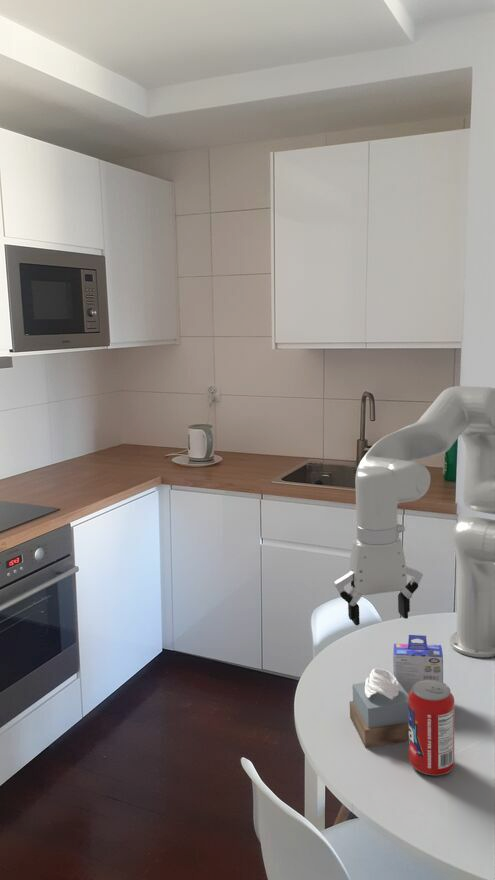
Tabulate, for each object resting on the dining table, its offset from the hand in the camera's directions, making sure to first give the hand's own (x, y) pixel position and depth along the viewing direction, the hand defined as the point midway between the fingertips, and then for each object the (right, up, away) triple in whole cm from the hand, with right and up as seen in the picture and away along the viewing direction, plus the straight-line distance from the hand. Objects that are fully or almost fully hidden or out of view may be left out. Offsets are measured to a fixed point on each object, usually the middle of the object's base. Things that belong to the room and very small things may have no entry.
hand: (379, 619), depth 134 cm
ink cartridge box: (+10, -21, +11) cm, 25 cm away
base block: (+1, -23, +3) cm, 23 cm away
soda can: (+8, -24, -9) cm, 27 cm away
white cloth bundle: (+1, -15, +2) cm, 15 cm away
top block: (+1, -19, +2) cm, 19 cm away
